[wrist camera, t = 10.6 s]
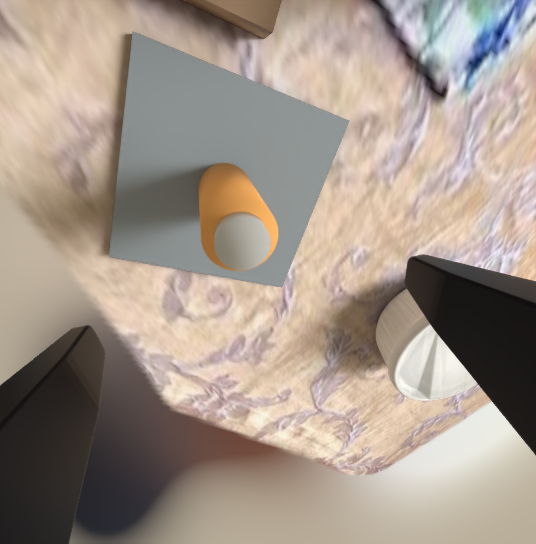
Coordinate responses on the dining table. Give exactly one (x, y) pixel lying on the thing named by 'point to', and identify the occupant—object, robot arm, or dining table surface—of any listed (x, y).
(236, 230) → the orange cylinder
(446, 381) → the ramekin
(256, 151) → the rubber mat
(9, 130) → the dining table surface
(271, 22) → the brown square frame
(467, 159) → the dining table surface
